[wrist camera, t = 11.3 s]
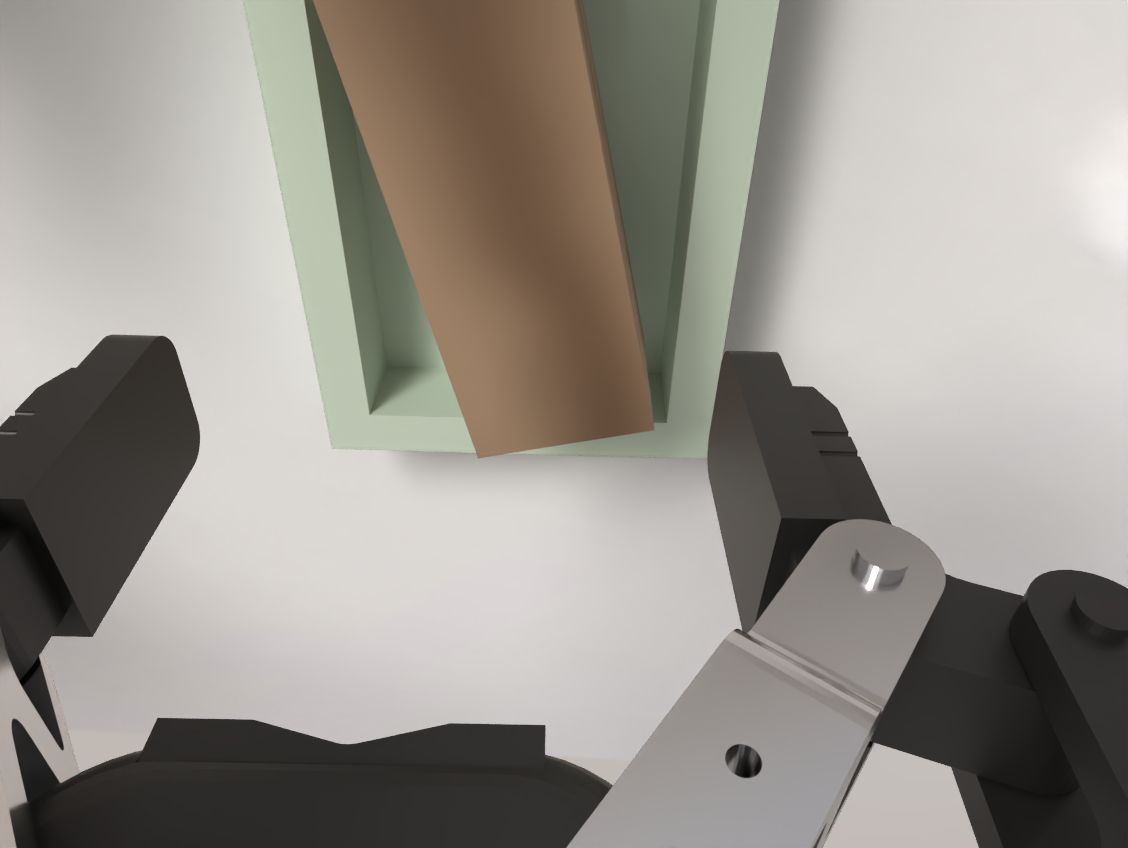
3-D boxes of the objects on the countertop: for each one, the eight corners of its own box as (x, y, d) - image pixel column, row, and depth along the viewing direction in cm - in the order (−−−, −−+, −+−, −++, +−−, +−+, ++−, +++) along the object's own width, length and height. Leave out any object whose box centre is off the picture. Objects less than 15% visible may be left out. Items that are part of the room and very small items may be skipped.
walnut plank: (494, 362, 27) (478, 458, 23) (316, -197, 18) (239, -204, 14) (643, 336, 26) (654, 430, 22) (535, -261, 17) (519, -287, 13)
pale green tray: (354, 391, 31) (331, 448, 28) (215, -440, 17) (145, -491, 15) (694, 400, 31) (705, 458, 28) (811, -427, 17) (855, -477, 15)
